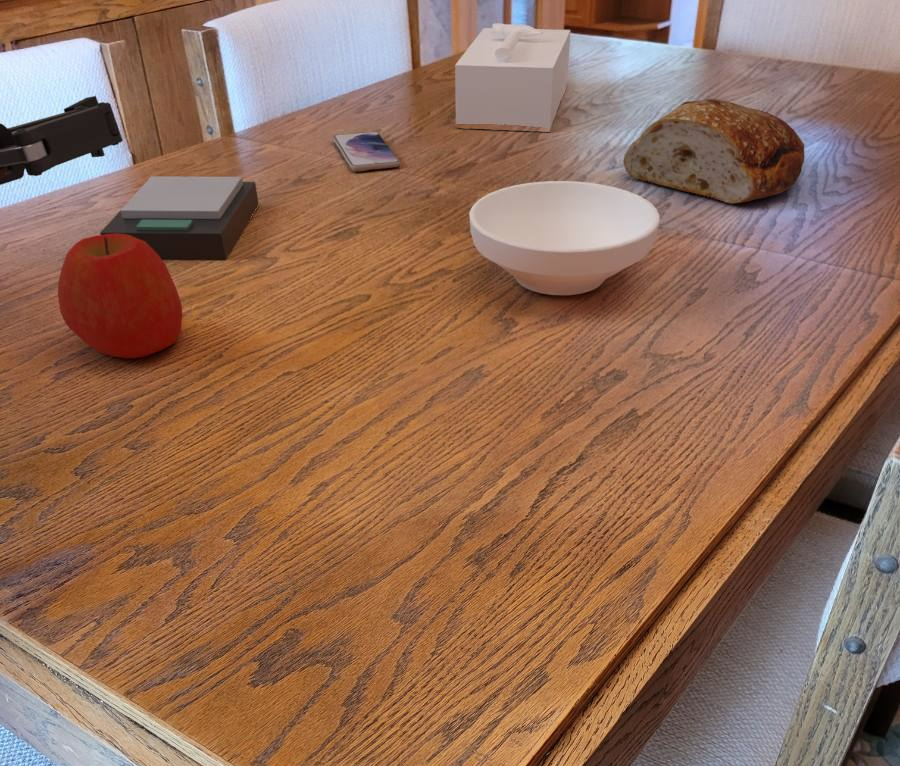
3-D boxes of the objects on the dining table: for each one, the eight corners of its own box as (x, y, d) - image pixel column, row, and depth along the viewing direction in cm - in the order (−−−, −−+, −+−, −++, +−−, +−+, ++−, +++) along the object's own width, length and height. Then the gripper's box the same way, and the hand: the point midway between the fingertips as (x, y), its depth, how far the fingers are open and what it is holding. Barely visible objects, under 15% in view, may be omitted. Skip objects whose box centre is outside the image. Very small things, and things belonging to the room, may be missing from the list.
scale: (107, 258, 104) (97, 223, 101) (152, 205, 116) (145, 172, 114) (225, 259, 103) (219, 224, 101) (259, 206, 116) (253, 173, 113)
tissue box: (566, 88, 154) (571, 13, 146) (549, 132, 136) (553, 49, 128) (483, 85, 156) (484, 11, 149) (455, 128, 138) (454, 47, 131)
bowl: (432, 277, 99) (430, 210, 94) (559, 231, 108) (563, 168, 103) (559, 340, 88) (564, 268, 83) (688, 283, 97) (700, 215, 92)
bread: (616, 178, 121) (625, 95, 114) (700, 147, 129) (712, 68, 123) (745, 218, 109) (763, 129, 103) (827, 182, 118) (849, 97, 111)
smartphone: (378, 131, 135) (401, 161, 125) (378, 137, 136) (401, 168, 125) (331, 134, 134) (351, 166, 123) (332, 140, 134) (351, 172, 124)
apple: (57, 368, 85) (18, 257, 78) (106, 316, 93) (75, 211, 86) (164, 375, 84) (135, 262, 77) (205, 322, 92) (182, 215, 85)
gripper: (-260, 290, 56) (-113, 212, 73) (127, 215, 55) (184, 154, 73) (-341, 161, 52) (-165, 110, 69) (78, 76, 51) (151, 46, 68)
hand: (14, 132), depth 71 cm, fingers open, 13 cm apart
